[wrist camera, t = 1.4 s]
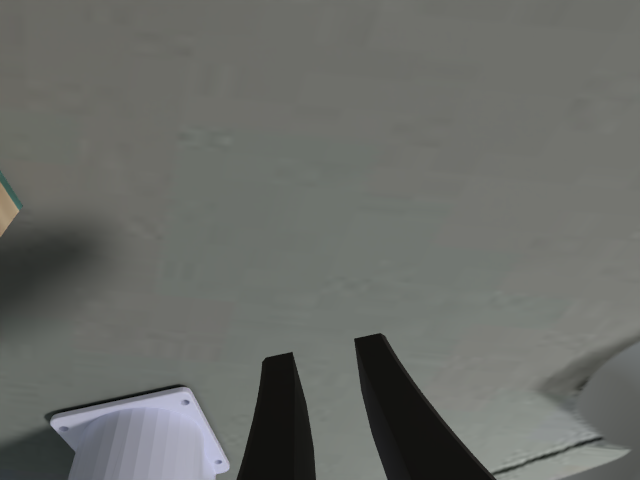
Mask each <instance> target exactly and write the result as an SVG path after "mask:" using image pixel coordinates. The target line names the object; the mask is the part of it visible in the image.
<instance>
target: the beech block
mask: <svg viewBox="0 0 640 480" xmlns="http://www.w3.org/2000/svg"><path fill="white" fill-rule="evenodd" d="M22 206H23V205H22V204H21V202H20V201H19V199H18V198H17V196H16V195H15V193H14V191H13V190H12V188H11V187H10V185H9V184H8V182H7V180H6V179H5V177H4V176H3V174H2V173H1V171H0V237H1V235H2V234H3V233H4V231H5V230H6V228H7V227H8V226H9V224H10V223H11V222H12V220H13V219H14V217H15V216H16V215H17V213H18V212H19V211H20V209H21V208H22Z"/></svg>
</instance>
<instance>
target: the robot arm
mask: <svg viewBox="0 0 640 480" xmlns="http://www.w3.org/2000/svg"><path fill="white" fill-rule="evenodd" d="M354 341H355V348H356V355H357V362H358V370H359V377H360V384H361V391H362V395H363V399H364V404H365V408H366V412H367V416H368V420H369V424H370V428H371V432H372V435H373V438H374V441H375V444H376V447H377V450H378V453H379V456H380V459H381V462H382V465H383V468H384V470H385V473H386V476H387V479H388V480H496V479H495V478H494V477H493V476H492V475H491V473H490V472H489V471H488V470H487V469H486V468H485V467H484V466H483V465H482V464H481V463H480V462H479V460H478V459H477V458H476V457H475V456H474V455H473V454H472V453H471V452H470V450H469V449H468V448H467V447H466V446H465V445H464V444H463V442H462V441H461V440H460V439H459V438H458V437H457V436H456V434H455V433H454V432H453V431H452V430H451V428H450V427H449V426H448V425H447V424H446V422H445V421H444V420H443V419H442V418H441V416H440V415H439V414H438V412H437V411H436V410H435V409H434V407H433V406H432V405H431V404H430V402H429V401H428V400H427V398H426V397H425V396H424V395H423V393H422V392H421V391H420V389H419V388H418V387H417V385H416V384H415V382H414V381H413V380H412V378H411V377H410V375H409V374H408V372H407V371H406V370H405V368H404V367H403V365H402V364H401V362H400V361H399V359H398V357H397V356H396V354H395V353H394V351H393V349H392V348H391V346H390V344H389V342H388V341H387V339H386V337H385V335H383V334H381V333H379V334H374V335H369V336H365V337H360V338H355V339H354ZM50 425H51V426H52V427H53V428H54V429H55V430H56V432H57V433H58V434H59V435H60V436H61V437H62V438H63V439H64V440H65V441H66V442H67V444H68V445H69V446H70V447H71V448H72V449H73V450H74V451H75V452H76V453H75V457H74V460H73V463H72V467H71V470H70V473H69V477H68V480H215V474H219V473H224V472H226V471H228V470H229V461H228V459H227V457H226V456H225V454H224V452H223V450H222V448H221V446H220V444H219V442H218V440H217V438H216V437H215V435H214V433H213V431H212V429H211V427H210V425H209V423H208V421H207V419H206V418H205V416H204V414H203V412H202V410H201V408H200V406H199V404H198V402H197V400H196V399H195V397H194V395H193V393H192V391H191V390H190V389H189V388H187V387H178V388H174V389H169V390H164V391H160V392H155V393H150V394H146V395H141V396H137V397H132V398H127V399H123V400H118V401H113V402H109V403H104V404H99V405H95V406H90V407H86V408H81V409H76V410H72V411H67V412H62V413H58V414H55V415H53V416H52V418H51V421H50ZM237 480H316V474H315V460H314V447H313V441H312V435H311V428H310V422H309V416H308V410H307V404H306V400H305V397H304V393H303V389H302V386H301V382H300V378H299V375H298V371H297V367H296V364H295V360H294V356H293V353H292V352H290V353H285V354H281V355H276V356H272V357H267V358H265V360H264V361H263V362H262V372H261V379H260V386H259V392H258V398H257V403H256V407H255V412H254V417H253V421H252V425H251V429H250V433H249V437H248V441H247V445H246V449H245V453H244V457H243V460H242V464H241V467H240V470H239V473H238V477H237Z"/></svg>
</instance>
